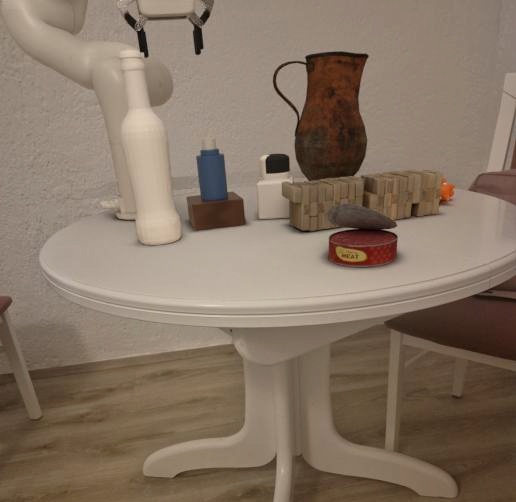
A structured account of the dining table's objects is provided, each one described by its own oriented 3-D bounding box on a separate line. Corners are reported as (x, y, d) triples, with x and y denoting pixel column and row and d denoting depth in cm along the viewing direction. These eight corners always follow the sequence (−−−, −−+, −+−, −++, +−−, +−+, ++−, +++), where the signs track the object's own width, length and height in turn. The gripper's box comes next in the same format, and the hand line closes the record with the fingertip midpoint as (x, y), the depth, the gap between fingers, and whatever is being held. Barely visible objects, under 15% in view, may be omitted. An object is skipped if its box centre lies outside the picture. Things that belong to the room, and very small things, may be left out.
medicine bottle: (294, 210, 104) (292, 151, 98) (293, 218, 98) (291, 155, 92) (261, 212, 105) (258, 153, 99) (258, 219, 98) (254, 157, 93)
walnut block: (195, 230, 93) (192, 204, 91) (189, 220, 102) (186, 196, 100) (245, 224, 95) (243, 198, 93) (235, 215, 104) (233, 191, 102)
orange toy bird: (411, 170, 105) (442, 177, 95) (440, 178, 108) (472, 186, 97) (403, 193, 107) (432, 202, 97) (431, 201, 110) (462, 211, 99)
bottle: (190, 234, 91) (165, 49, 77) (169, 246, 84) (138, 45, 70) (152, 234, 93) (122, 54, 80) (129, 245, 87) (92, 51, 73)
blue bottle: (203, 201, 94) (196, 140, 89) (199, 197, 98) (192, 138, 93) (230, 198, 95) (224, 137, 90) (225, 194, 99) (219, 136, 94)
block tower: (416, 211, 99) (281, 224, 93) (420, 168, 95) (280, 178, 89) (438, 218, 92) (294, 233, 86) (444, 172, 88) (294, 184, 82)
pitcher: (372, 198, 111) (378, 45, 97) (280, 205, 111) (272, 54, 97) (358, 186, 125) (361, 53, 112) (276, 193, 126) (270, 60, 112)
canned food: (326, 285, 74) (306, 224, 74) (382, 268, 77) (363, 208, 76) (359, 271, 63) (335, 198, 63) (423, 251, 66) (400, 181, 65)
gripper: (204, -55, 87) (215, 55, 95) (106, -54, 84) (125, 60, 91) (211, -69, 80) (221, 51, 88) (104, -68, 77) (125, 56, 85)
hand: (172, 55), depth 90 cm, fingers open, 9 cm apart
